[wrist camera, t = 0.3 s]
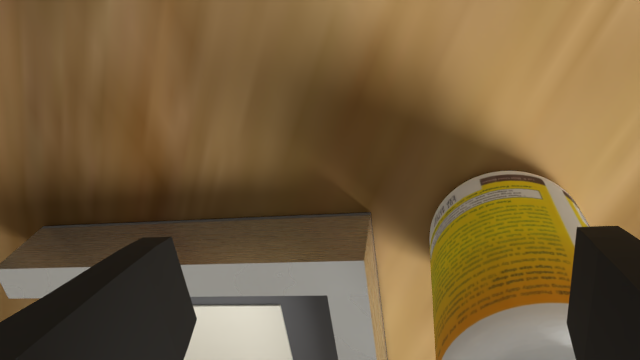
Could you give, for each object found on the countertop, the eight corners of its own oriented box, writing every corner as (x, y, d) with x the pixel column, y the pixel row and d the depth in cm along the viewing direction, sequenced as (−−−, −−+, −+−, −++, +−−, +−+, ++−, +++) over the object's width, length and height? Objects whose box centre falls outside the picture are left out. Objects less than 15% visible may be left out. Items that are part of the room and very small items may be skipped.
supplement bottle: (400, 240, 21) (391, 489, 12) (491, 136, 18) (568, 355, 9) (511, 307, 22) (580, 589, 13) (614, 216, 19) (794, 491, 10)
